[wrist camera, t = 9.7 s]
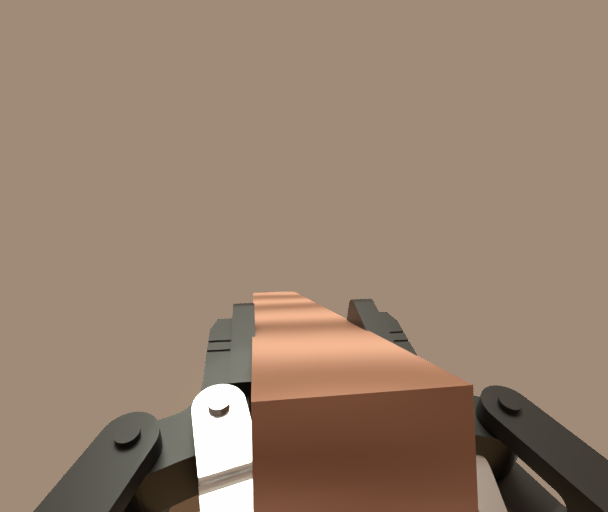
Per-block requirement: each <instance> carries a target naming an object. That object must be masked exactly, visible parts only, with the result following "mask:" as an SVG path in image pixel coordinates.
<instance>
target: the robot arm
mask: <svg viewBox="0 0 608 512" xmlns="http://www.w3.org/2000/svg"><path fill="white" fill-rule="evenodd" d="M347 321H349V322H351V323H353V324H355V325H356V326H358V327H360V328H362V329H364V330H366V331H370V332H372V333H374V334H376V335H378V336H380V337H382V338H384V339H386V340H388V341H389V342H391V343H393V344H395V345H397V346H399V347H401V348H403V349H405V350H407V351H409V352H411V353H412V354H414V355H416V356H417V354H416V353H415V351H414V349H413V347H412V346H411V344H410V342H408V339H407V337H406V335H405V334H404V333H403V330H402V328H401V327H400V325H399V323H398V321H397V320H395V319H394V318H393V317H392V316H390V315H389V314H388V313H387V312H379V311H378V310H377V308H376V306H375V304H374V302H373V300H372V299H356V300H350V302H349V308H348V316H347ZM252 337H255V307H254V303H244V304H234V305H233V319H218V320H217V322H216V323H215V324H214V325H213V327H212V328H211V329H210V335H209V343H208V348H207V355H206V362H205V369H204V375H203V382H202V389H201V393H200V394H199V395H198V396H197V397H196V398H195V400H194V402H193V404H192V405H191V406H190V407H188V408H187V409H185V410H184V411H182V412H180V413H178V414H175V415H172V416H170V417H167V418H164V419H161V420H158V421H157V419H156V418H155V417H154V416H152V415H151V414H148V413H145V412H133V413H128V414H125V415H122V416H120V417H118V418H116V419H115V420H113V421H112V422H110V423H109V424H108V425H107V426H106V427H105V428H104V429H103V430H102V431H101V432H100V434H99V435H98V436H97V437H96V438H95V440H94V441H93V442H92V443H91V444H90V446H89V447H88V448H87V449H86V450H85V451H84V453H83V454H82V455H81V456H80V457H79V458H78V460H77V461H76V462H75V463H74V464H73V466H72V467H71V468H70V469H69V470H68V472H67V473H66V474H65V475H64V476H63V477H62V479H61V480H60V481H59V482H58V483H57V485H56V486H55V487H54V488H53V489H52V490H51V492H50V493H49V494H48V495H47V496H46V497H45V499H44V500H43V501H42V502H41V504H40V505H39V506H38V507H37V508H36V509H35V510H34V512H169V510H170V508H171V507H172V506H174V505H177V504H179V503H181V502H183V501H185V500H187V499H190V498H192V497H194V496H196V495H198V494H199V500H200V510H201V512H253V475H252V425H251V380H252ZM473 397H474V420H475V444H476V467H477V490H478V512H608V460H607V459H606V458H604V457H603V456H602V455H600V454H599V453H598V452H596V451H595V450H594V449H592V448H591V447H590V446H588V445H587V444H586V443H585V442H583V441H582V440H581V439H579V438H578V437H577V436H575V435H574V434H573V433H571V432H570V431H569V430H567V429H566V428H565V427H563V426H562V425H561V424H559V423H558V422H557V421H555V420H554V419H553V418H552V417H550V416H549V415H548V414H546V413H545V412H544V411H542V410H541V409H540V408H538V407H537V406H536V405H534V404H533V403H532V402H530V401H529V400H527V398H525V397H524V396H522V395H521V394H520V393H518V392H516V391H514V390H512V389H510V388H507V387H502V386H489V387H486V388H485V389H484V390H483V391H482V393H481V396H480V397H477V396H473ZM518 457H519V458H520V459H521V460H522V461H524V462H525V463H526V464H527V465H528V466H529V467H530V468H531V469H532V470H533V471H535V472H536V473H537V474H538V475H539V476H540V477H541V478H542V479H543V480H545V481H546V482H547V483H548V484H549V485H550V486H551V487H552V488H554V489H555V490H556V491H557V492H558V493H559V495H560V496H561V497H562V499H563V500H564V502H565V504H566V507H565V506H563V505H562V504H561V503H560V502H559V501H558V500H557V499H555V498H554V497H553V496H552V495H551V494H550V493H549V492H548V491H547V490H546V489H545V488H543V487H542V486H541V485H540V484H539V483H538V482H537V481H536V480H535V479H534V478H533V477H532V476H530V475H529V474H528V473H527V472H526V471H525V470H524V469H523V468H522V467H521V466H520V465H519V464H517V463H516V460H517V458H518Z"/></svg>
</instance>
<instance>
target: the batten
mask: <svg viewBox="0 0 608 512" xmlns="http://www.w3.org/2000/svg"><path fill="white" fill-rule="evenodd" d="M253 303H254V307H255V337H252V380H251V425H252V475H253V512H478V490H477V467H476V444H475V420H474V397H473V385H472V384H470V383H468V382H466V381H464V380H462V379H460V378H458V377H456V376H455V375H452V374H451V373H449V372H447V371H445V370H443V369H441V368H439V367H437V366H435V365H433V364H432V363H430V362H428V361H426V360H424V359H422V358H420V357H418V356H416V355H414V354H412V353H411V352H409V351H407V350H405V349H403V348H401V347H399V346H397V345H395V344H393V343H391V342H389V341H388V340H386V339H384V338H382V337H380V336H378V335H376V334H374V333H372V332H370V331H366V330H364V329H362V328H360V327H358V326H356V325H355V324H353V323H351V322H349V321H347V319H345V318H344V317H342V316H340V315H338V314H336V313H334V312H332V311H330V310H328V309H326V308H324V307H322V306H320V305H319V304H317V303H315V302H312V301H311V300H309V299H307V298H305V297H303V296H301V295H299V294H298V293H296V292H264V293H253Z"/></svg>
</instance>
